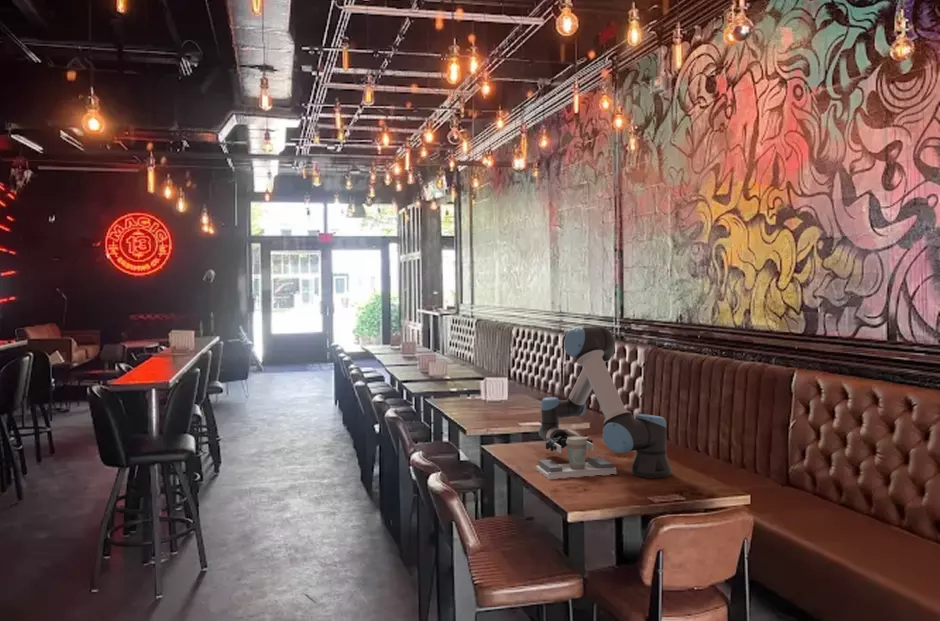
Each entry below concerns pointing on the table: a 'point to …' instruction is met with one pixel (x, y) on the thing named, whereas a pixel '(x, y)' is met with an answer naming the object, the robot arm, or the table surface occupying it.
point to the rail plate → (563, 470)
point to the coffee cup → (577, 451)
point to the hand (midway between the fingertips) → (576, 448)
